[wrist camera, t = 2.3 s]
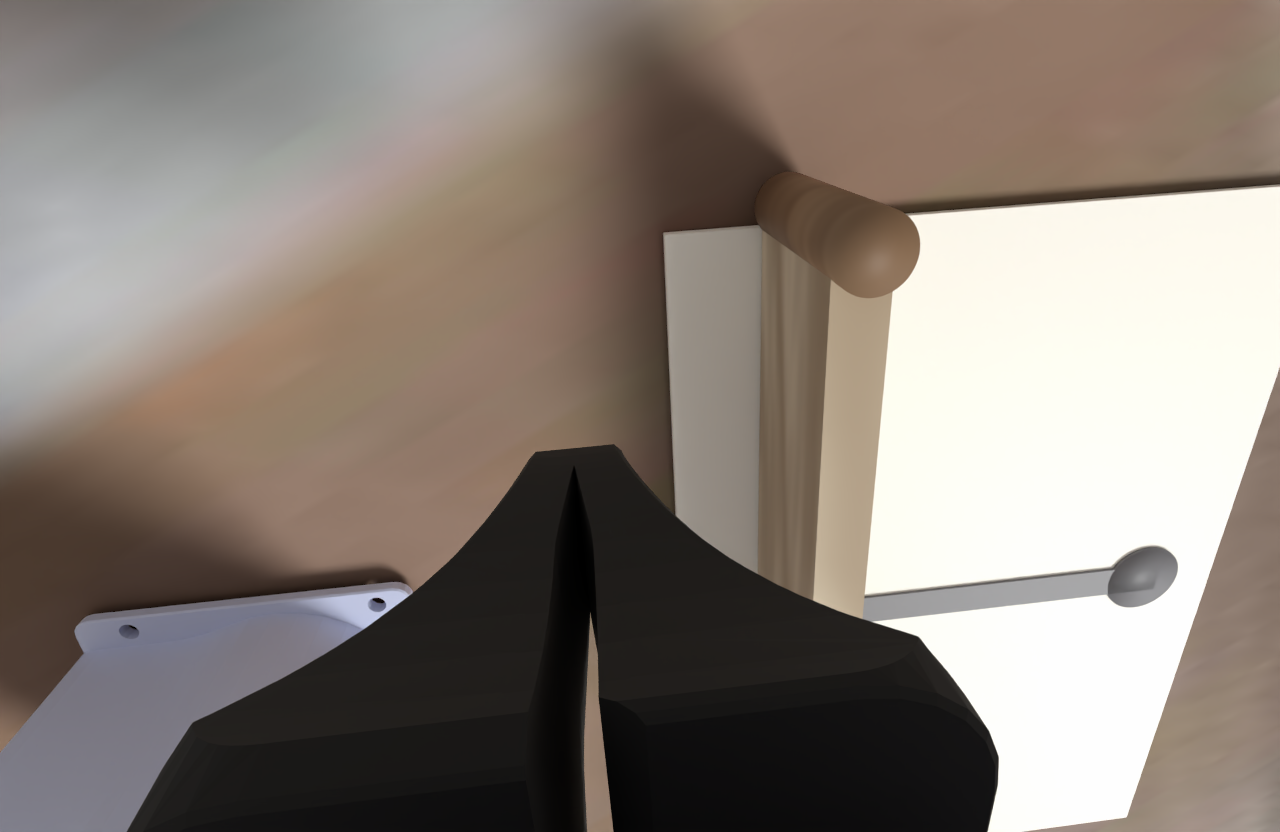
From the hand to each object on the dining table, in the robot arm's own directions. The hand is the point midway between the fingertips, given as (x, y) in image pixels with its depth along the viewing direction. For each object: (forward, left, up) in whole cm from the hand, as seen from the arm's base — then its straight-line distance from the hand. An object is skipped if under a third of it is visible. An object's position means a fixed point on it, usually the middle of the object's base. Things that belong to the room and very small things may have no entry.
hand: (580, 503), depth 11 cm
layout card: (+11, -10, -8) cm, 17 cm away
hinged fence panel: (+5, -2, -8) cm, 10 cm away
